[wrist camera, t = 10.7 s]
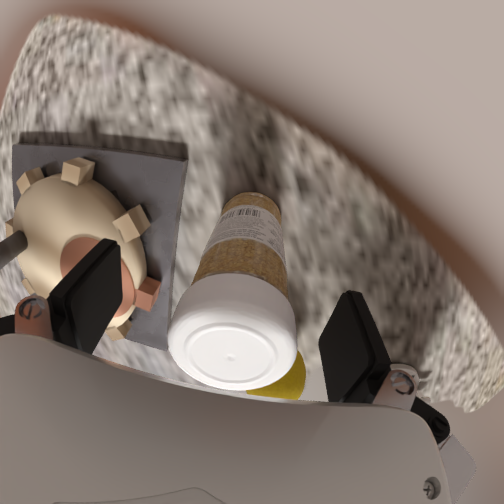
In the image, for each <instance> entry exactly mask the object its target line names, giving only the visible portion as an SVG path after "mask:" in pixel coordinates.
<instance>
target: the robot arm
mask: <svg viewBox="0 0 504 504" xmlns="http://www.w3.org/2000/svg"><path fill="white" fill-rule="evenodd" d="M122 300H123V289H122V272H121V247H120V245H118V244H117V241H116V240H111V239H107V238H103V239H102V240H101V241H100V242H99V243H97V244H96V245H95V246H94V247H93V248H92V249H91V250H90V251H89V252H88V253H87V254H86V255H85V256H84V257H83V258H82V259H81V260H80V261H79V262H78V263H77V264H76V265H75V266H74V267H73V268H72V269H71V270H70V271H69V272H68V274H67V275H66V276H65V277H64V278H63V279H62V280H61V281H60V282H59V283H58V284H57V285H56V286H55V288H54V289H53V290H52V291H51V292H50V293H49V296H48V298H47V299H45V298H44V297H42V296H38V295H31V296H28V297H25V298H24V299H22V300H21V301H20V302H19V303H18V304H17V306H16V309H15V314H14V315H10V316H6V317H2V318H0V504H455V503H456V501H457V500H458V498H459V497H460V496H461V494H462V493H463V491H464V490H465V489H466V487H467V486H468V484H469V482H470V481H471V479H472V477H473V476H474V474H475V472H476V464H475V461H474V459H473V458H472V457H471V456H470V454H469V453H468V452H467V451H466V449H465V448H464V447H463V446H462V445H461V444H460V442H459V441H458V440H457V439H456V437H455V436H454V435H453V434H452V435H451V436H450V435H449V433H450V426H449V423H448V421H447V419H446V418H445V417H444V416H443V415H442V414H441V413H439V412H438V411H437V410H435V409H434V408H432V407H431V406H429V404H430V401H431V400H430V398H429V397H421V398H419V396H418V393H417V388H418V385H419V376H418V374H417V371H416V370H415V369H414V368H413V367H411V366H409V365H405V364H392V363H391V361H390V358H389V356H388V353H387V351H386V348H385V346H384V343H383V341H382V339H381V336H380V334H379V331H378V329H377V327H376V324H375V322H374V320H373V317H372V315H371V313H370V311H369V308H368V306H367V304H366V302H365V300H364V297H363V295H362V293H360V292H356V291H351V290H348V291H347V292H346V293H343V294H342V295H341V297H340V299H339V301H338V303H337V305H336V307H335V309H334V311H333V313H332V315H331V317H330V319H329V321H328V323H327V325H326V326H325V328H324V330H323V332H322V334H321V336H320V338H319V350H320V355H321V360H322V366H323V371H324V377H325V383H326V389H327V395H328V401H329V402H320V401H318V402H317V401H304V400H292V399H281V398H272V397H264V396H257V395H249V394H243V393H236V392H230V391H224V390H219V389H214V388H209V387H204V386H199V385H194V384H190V383H185V382H181V381H177V380H173V379H169V378H165V377H161V376H157V375H154V374H150V373H146V372H143V371H140V370H136V369H133V368H130V367H127V366H123V365H120V364H117V363H114V362H111V361H108V360H106V359H103V358H100V357H97V356H94V355H92V353H93V351H94V349H95V348H96V346H97V344H98V342H99V340H100V339H101V337H102V335H103V334H104V332H105V330H106V328H107V327H108V325H109V323H110V322H111V320H112V318H113V317H114V315H115V313H116V312H117V310H118V308H119V307H120V305H121V303H122Z"/></svg>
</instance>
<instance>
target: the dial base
mask: <svg viewBox="0 0 504 504" xmlns="http://www.w3.org/2000/svg"><path fill="white" fill-rule="evenodd" d="M78 157H80V158H83V159H86V160H89V161H92V162H95V167H94V172H93V177H92V179H93V180H95V181H96V182H98V183H99V184H101V185H102V186H104V187H105V188H106V189H107V190H108V191H110V192H111V193H112V194H113V195H114V196H115V198H116V199H117V200H118V201H119V202H120V203H121V205H122V206H123V207H124V209H125V210H126V211H129V210H130V209H132V208H134V207H136V206H138V205H139V204H140V206H141V207H142V209H143V211H144V213H145V215H146V217H147V219H148V221H149V222H150V224H151V225H150V226H149V227H148V228H147V229H146V230H145V231H144V232H143V233H142V234H141V235H140V239H141V242H142V245H143V249H144V253H145V258H146V265H147V277H150V278H152V279H155V280H157V281H159V282H161V285H160V289H159V293H158V298H157V300H156V301H155V303H154V305H153V307H152V309H151V311H150V312H148V311H146V310H144V309H141V308H139V307H137V306H136V307H135V309H134V310H133V312H132V314H131V315H130V316H129V318H128V320H129V321H130V322H131V324H132V326H131V328H130V330H129V331H128V333H127V335H126V337H125V339H128V340H131V341H134V342H137V343H140V344H143V345H147V346H150V347H153V348H157V349H160V350H164V351H167V350H168V347H169V346H168V340H167V335H168V330H169V327H170V323H171V307H172V292H173V279H174V267H175V256H176V247H177V237H178V229H179V220H180V213H181V205H182V198H183V191H184V184H185V178H186V172H187V165H188V159H183V158H177V157H171V156H164V155H158V154H151V153H144V152H136V151H128V150H120V149H111V148H101V147H91V146H79V145H64V144H44V143H18V144H14V145H12V179H13V197H14V209H16V206H17V203H18V201H19V199H20V197H21V193H20V190H19V188H18V186H17V183H16V182H17V181H18V180H19V178H20V177H21V176H22V175H23V174H24V173H25V172H26V171H29V170H32V169H34V168H37V167H40V168H41V171H42V173H43V175H44V178H46V177H49V176H51V175H54V174H58V173H62V168H63V162H65V161H68V160H71V159H74V158H78ZM31 295H37V294H36V293H33V294H31Z"/></svg>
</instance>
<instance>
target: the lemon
mask: <svg viewBox="0 0 504 504" xmlns="http://www.w3.org/2000/svg"><path fill="white" fill-rule="evenodd" d="M305 378H306V369H305V364H304V361H303V358H302V356H301V354H300V352H299V351H298V350H297V355H296V359H295V361H294V363H293V365H292V367H291V368H290V370H289V371H288V372H287V373H286V374H285V375H284V376H283V377H281V378H280V379H279V380H277V381H275V382H273V383H271V384H269V385H267V386H264V387H261V388H256V389H250V390H246V392H247V394H249V395H257V396H264V397H272V398H281V399H292V400H298V398H299V397H300V396H301V394H302V392H303V389H304V385H305Z"/></svg>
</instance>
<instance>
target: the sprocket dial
mask: <svg viewBox="0 0 504 504" xmlns="http://www.w3.org/2000/svg"><path fill="white" fill-rule="evenodd" d="M94 167H95V162H92V161H89V160H86V159H83V158H80V157H78V158H74V159H71V160H68V161H65V162H63V168H62V173H58V174H54V175H51V176H49V177H46V178H44V175H43V173H42V171H41V168H40V167H37V168H34V169H32V170H29V171H26V172H25V173H24V174H23V175H22V176H21V177H20V178H19V180H18V181H17V182H16V183H17V186H18V188H19V190H20V193H21V197H20V199H19V201H18V203H17V206H16V209H15V213H14V218H12V219H10V220H9V221H7V222H5V223H6V239H4V240H3V241H2V242H0V269H1V268H3V267H4V266H5V265H6V264H8V263H9V262H10V261H11V260H13V259H14V258H15V257H16V256H17V258H18V261H19V264H20V267H21V269H22V271H23V273H24V275H25V277H26V278H25V279H24V280H23V281H21V282H22V283H23V285H24V286H25V288H26V290H27V291H28V293H29V294H30V295H31V294H33V293H36V294H37V295H38V296H42V297H44V298H45V299H47V298H48V296H49V293H50V292H51V291H52V290H53V289H54V288H55V286H56V285H57V284H58V283H59V282H60V281H61V280H62V279H63V278H64V277H65V276H66V275H67V274H68V272H69V271H70V270H71V269H72V268H73V267H74V266H75V265H76V264H77V263H78V262H79V261H80V260H81V259H82V258H83V257H84V256H85V255H86V254H87V253H88V252H89V251H90V250H91V249H92V248H93V247H94V246H95V245H96V244H97V243H99V242H100V241H101V240H102V239H103V238H107V239H111V240H116V241H117V244H118V245H120V247H121V272H122V289H123V300H122V303H121V305H120V307H119V308H118V310H117V312H116V313H115V315H114V317H113V318H112V320H111V322H110V323H109V325H108V327H107V328H106V330H105V332H106V333H107V335H108V336H109V337H110V338H111V340H112V341H114V340H119V339H123V338H125V337H126V335H127V333H128V331H129V330H130V328H131V326H132V324H131V322H130V321H129V320H128V318H129V316H130V315H131V314H132V312H133V310H134V309H135V307H136V306H137V307H139V308H141V309H144V310H146V311H148V312H150V311H151V309H152V307H153V305H154V303H155V301H156V300H157V298H158V293H159V289H160V285H161V282H159V281H157V280H155V279H152V278H150V277H147V265H146V258H145V253H144V249H143V245H142V242H141V239H140V235H141V234H142V233H143V232H144V231H145V230H146V229H147V228H148V227H149V226H150V225H151V224H150V222H149V221H148V219H147V217H146V215H145V213H144V211H143V209H142V207H141V206H140V204H139V205H138V206H136V207H134V208H132V209H130V210H129V211H126V210H125V209H124V207H123V206H122V205H121V203H120V202H119V201H118V200H117V199H116V198H115V196H114V195H113V194H112V193H111V192H110V191H108V190H107V189H106V188H105V187H104V186H102V185H101V184H99V183H98V182H96V181H95V180H93V179H92V177H93V172H94Z"/></svg>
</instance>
